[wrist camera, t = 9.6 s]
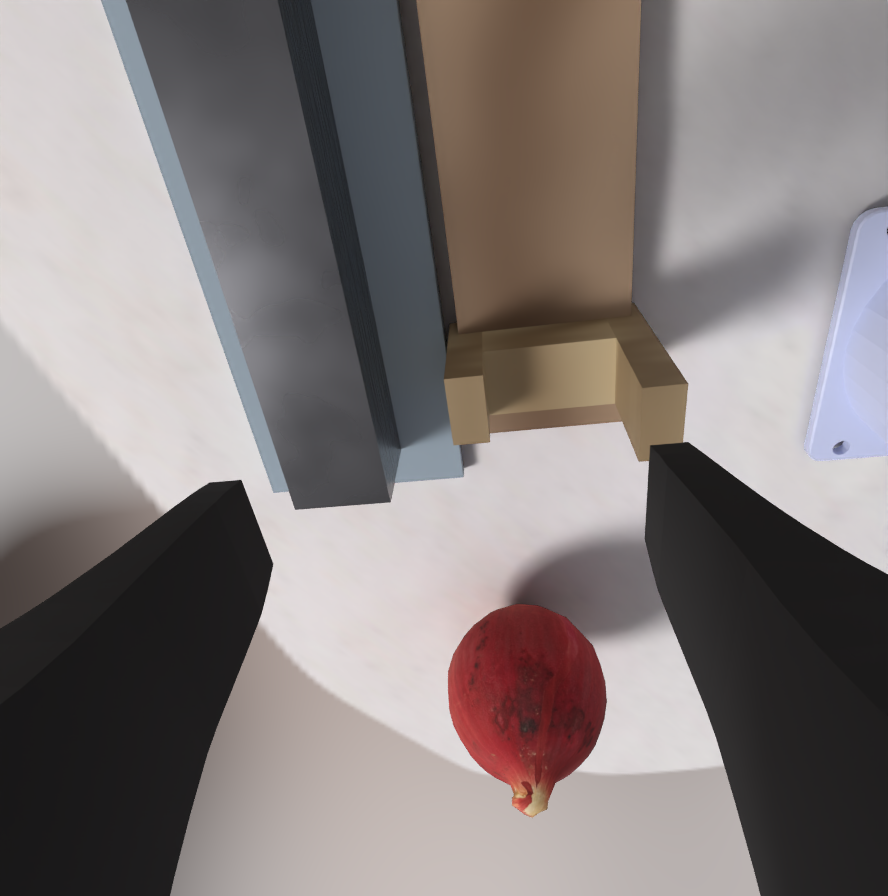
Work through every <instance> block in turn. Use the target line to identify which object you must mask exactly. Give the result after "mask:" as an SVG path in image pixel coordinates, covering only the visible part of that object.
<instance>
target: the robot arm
mask: <svg viewBox="0 0 888 896" xmlns="http://www.w3.org/2000/svg"><path fill="white" fill-rule="evenodd" d="M887 228H888V206H887V207H878V208H873V209H870V210H867V211H865V212H864V213H862V214H861V215H859V217H858V218H857V219H856V220H855V221H854V223H853V226H852V228H851V231H850V236H849V241H848V245H847V250H846V254H845V259H844V264H843V268H842V273H841V278H840V282H839V287H838V291H837V296H836V301H835V305H834V310H833V315H832V319H831V324H830V328H829V333H828V338H827V342H826V347H825V352H824V356H823V361H822V365H821V370H820V375H819V379H818V384H817V389H816V393H815V398H814V402H813V407H812V412H811V416H810V421H809V426H808V430H807V435H806V440H805V444H804V450H805V451H806V453H807V454H808V455H809V456H810V458H812V459H814V460H816V461H828V460H841V459H853V458H866V457H879V456H888V234H887ZM841 441H843V443H842V445H840V446H839V447H837V448H833V447H834V445H836V444H837V443H838V442H841ZM645 542H646V546H647V550H648V554H649V558H650V562H651V566H652V570H653V573H654V577H655V581H656V585H657V588H658V591H659V594H660V597H661V599H662V602H663V604H664V607H665V609H666V612H667V614H668V617H669V619H670V622H671V624H672V627H673V629H674V632H675V634H676V637H677V639H678V642H679V644H680V647H681V649H682V652H683V654H684V656H685V659H686V661H687V664H688V666H689V669H690V671H691V674H692V676H693V679H694V681H695V684H696V686H697V688H698V691H699V693H700V696H701V698H702V701H703V703H704V706H705V708H706V711H707V714H708V716H709V719H710V722H711V725H712V728H713V730H714V733H715V736H716V739H717V742H718V746H719V749H720V752H721V756H722V759H723V763H724V766H725V769H726V773H727V776H728V780H729V783H730V786H731V790H732V793H733V797H734V800H735V803H736V807H737V810H738V814H739V818H740V821H741V825H742V828H743V832H744V836H745V839H746V843H747V846H748V850H749V854H750V857H751V861H752V864H753V868H754V872H755V876H756V879H757V883H758V887H759V891H760V895H761V896H888V574H886V573H884V572H882V571H881V570H879V569H877V568H875V567H873V566H871V565H869V564H867V563H866V562H864V561H862V560H860V559H859V558H857V557H855V556H853V555H852V554H850V553H848V552H847V551H845V550H843V549H841V548H840V547H838V546H837V545H835V544H833V543H832V542H830V541H829V540H827V539H825V538H824V537H822V536H821V535H819V534H817V533H816V532H814V531H813V530H811V529H809V528H808V527H806V526H805V525H803V524H801V523H800V522H798V521H797V520H795V519H794V518H792V517H791V516H789V515H788V514H786V513H785V512H783V511H782V510H781V509H779V508H778V507H776V506H775V505H773V504H772V503H770V502H769V501H768V500H766V499H765V498H763V497H762V496H760V495H759V494H758V493H756V492H755V491H754V490H752V489H751V488H749V487H748V486H747V485H745V484H744V483H743V482H741V481H740V480H738V479H737V478H736V477H734V476H733V475H732V474H730V473H729V472H728V471H726V470H725V469H724V468H722V467H721V466H720V465H718V464H717V463H716V462H714V461H713V460H712V459H710V458H709V457H708V456H706V455H705V454H704V453H702V452H701V451H700V450H698V449H697V448H696V447H694V446H693V445H691V444H690V443H688V442H683V443H672V444H660V445H650V455H649V473H648V491H647V508H646V526H645ZM272 568H273V562H272V559H271V557H270V554H269V552H268V549H267V546H266V544H265V541H264V538H263V536H262V533H261V530H260V528H259V525H258V523H257V520H256V517H255V515H254V512H253V509H252V507H251V504H250V502H249V499H248V496H247V494H246V491H245V488H244V486H243V483H242V481H241V480H236V481H224V482H212V483H208V484H207V485H205V486H204V487H202V488H200V489H199V490H197V491H196V492H194V493H193V494H191V495H190V496H189V497H187V498H186V499H184V500H183V501H182V502H180V503H179V504H177V505H176V506H175V507H173V508H172V509H171V510H169V511H168V512H167V513H165V514H164V515H163V516H161V517H160V518H159V519H158V520H156V521H155V522H154V523H152V524H151V525H150V526H148V527H147V528H146V529H144V530H143V531H142V532H140V533H139V534H138V535H136V536H135V537H134V538H132V539H131V540H130V541H128V542H127V543H126V544H124V545H123V546H122V547H120V548H119V549H118V550H117V551H115V552H114V553H113V554H111V555H110V556H108V557H107V558H105V559H104V560H103V561H101V562H100V563H98V564H97V565H96V566H94V567H93V568H92V569H90V570H89V571H87V572H86V573H84V574H83V575H81V576H80V577H79V578H77V579H76V580H74V581H73V582H71V583H70V584H69V585H67V586H66V587H64V588H63V589H62V590H60V591H59V592H57V593H56V594H54V595H53V596H52V597H50V598H49V599H47V600H45V601H44V602H42V603H41V604H39V605H38V606H36V607H35V608H33V609H32V610H30V611H28V612H27V613H25V614H24V615H22V616H20V617H19V618H17V619H15V620H14V621H12V622H11V623H9V624H7V625H6V626H4V627H2V628H1V629H0V896H170V893H171V889H172V884H173V880H174V876H175V872H176V868H177V863H178V860H179V856H180V852H181V848H182V844H183V840H184V836H185V833H186V829H187V824H188V821H189V816H190V813H191V810H192V806H193V802H194V799H195V795H196V792H197V788H198V784H199V781H200V778H201V774H202V771H203V767H204V764H205V760H206V757H207V753H208V751H209V748H210V745H211V742H212V740H213V737H214V734H215V731H216V728H217V726H218V723H219V721H220V718H221V716H222V713H223V710H224V708H225V705H226V703H227V701H228V698H229V696H230V693H231V691H232V688H233V685H234V683H235V681H236V678H237V675H238V673H239V671H240V668H241V665H242V663H243V661H244V658H245V656H246V653H247V650H248V648H249V645H250V643H251V640H252V637H253V635H254V632H255V630H256V627H257V625H258V622H259V619H260V616H261V614H262V610H263V606H264V602H265V598H266V594H267V590H268V586H269V581H270V577H271V572H272Z"/></svg>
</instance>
